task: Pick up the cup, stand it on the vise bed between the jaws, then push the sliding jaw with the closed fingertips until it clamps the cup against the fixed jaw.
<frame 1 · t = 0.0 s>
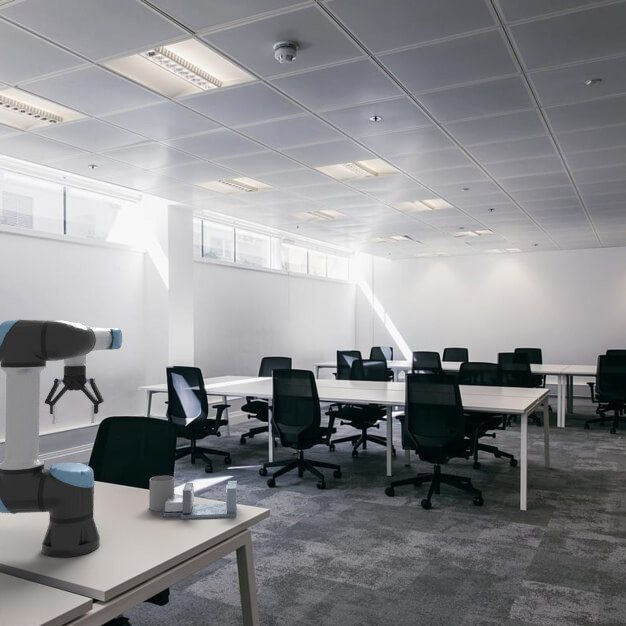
hand: (74, 423, 216), 28 cm above the table, fingers open, 13 cm apart
vise base: (209, 512, 200), on the table
cup: (161, 508, 206), on the table
jaw: (179, 497, 199), point 5 cm above the table, slide at 0.0 cm
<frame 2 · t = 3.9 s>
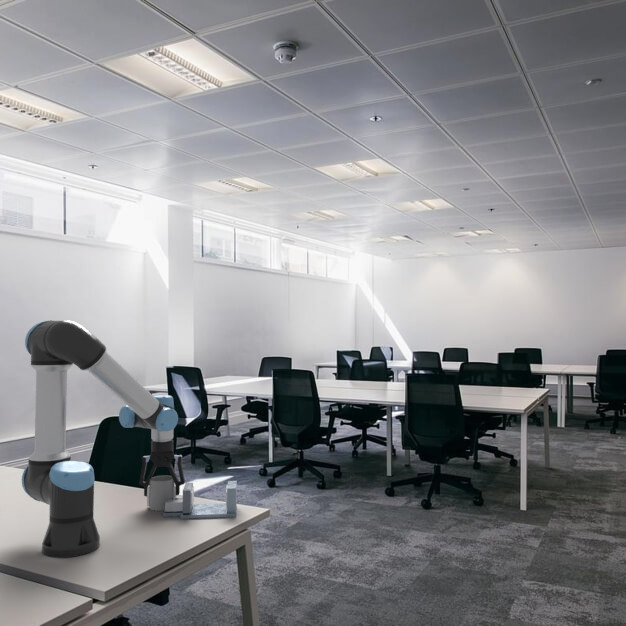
hand: (161, 504, 206), 1 cm above the table, fingers closed on cup, 8 cm apart
cup: (161, 507, 206), on the table, touching gripper
everything else where it was.
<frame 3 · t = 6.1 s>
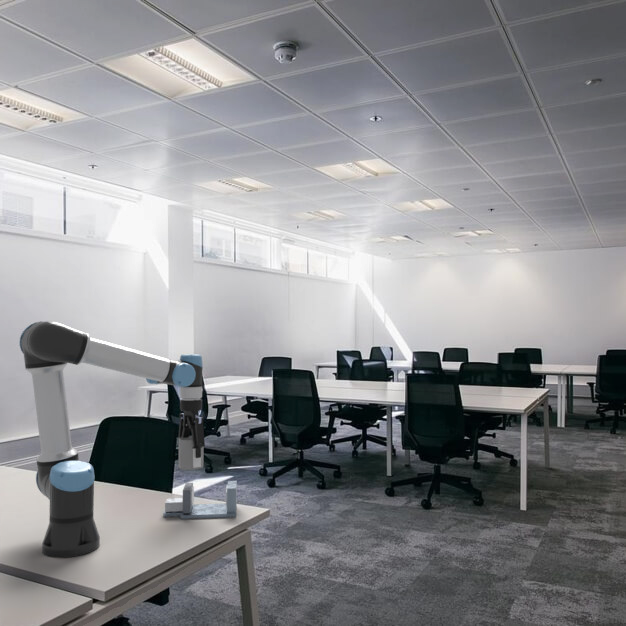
hand: (191, 464, 204), 16 cm above the table, fingers closed on cup, 8 cm apart
cup: (191, 467, 204), point 14 cm above the table, touching gripper
everything else where it was.
when the fingers open (3 cm above the table, at t = 8.5 s): cup drops 1 cm, resting on vise base.
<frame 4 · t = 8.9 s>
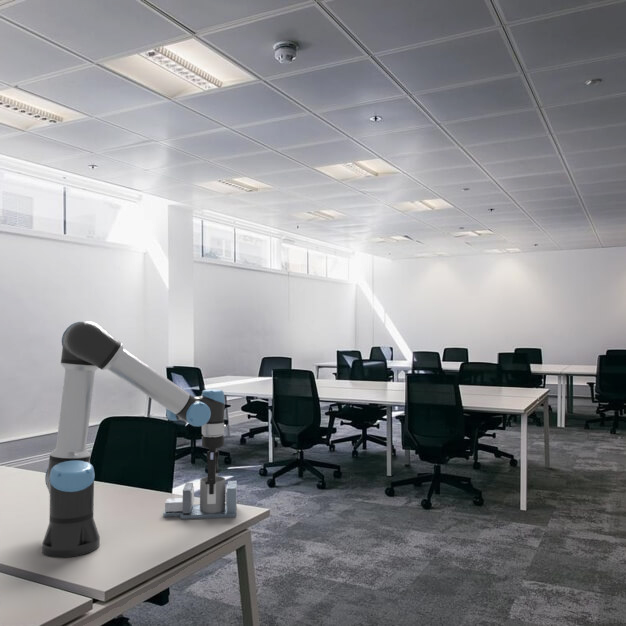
hand: (212, 498, 201), 5 cm above the table, fingers open, 13 cm apart
cup: (212, 509, 200), point 1 cm above the table, touching vise base
everything else where it was.
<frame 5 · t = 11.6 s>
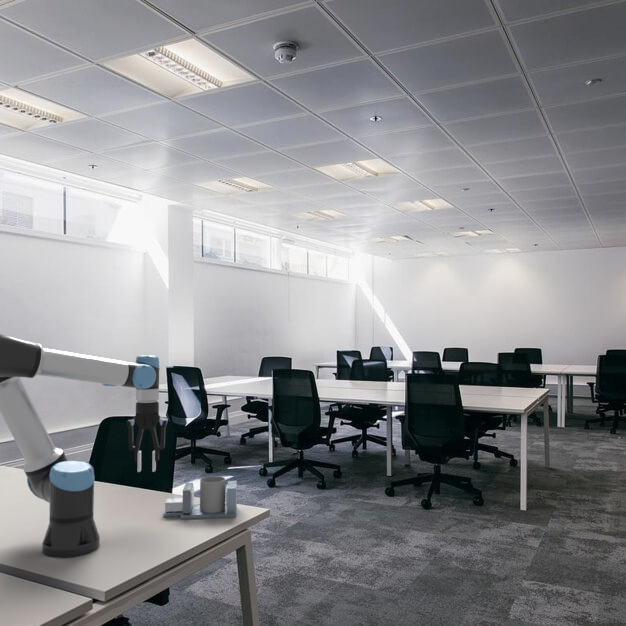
hand: (146, 470, 198), 15 cm above the table, fingers open, 4 cm apart
nothing on the table moved.
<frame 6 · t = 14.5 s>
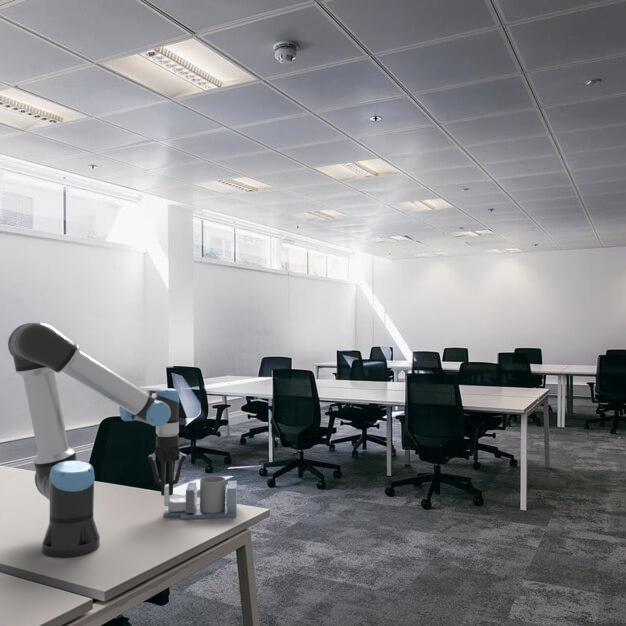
hand: (167, 504, 199), 3 cm above the table, fingers closed
jaw: (182, 497, 200), point 5 cm above the table, slide at 1.0 cm, touching gripper
everything else where it was.
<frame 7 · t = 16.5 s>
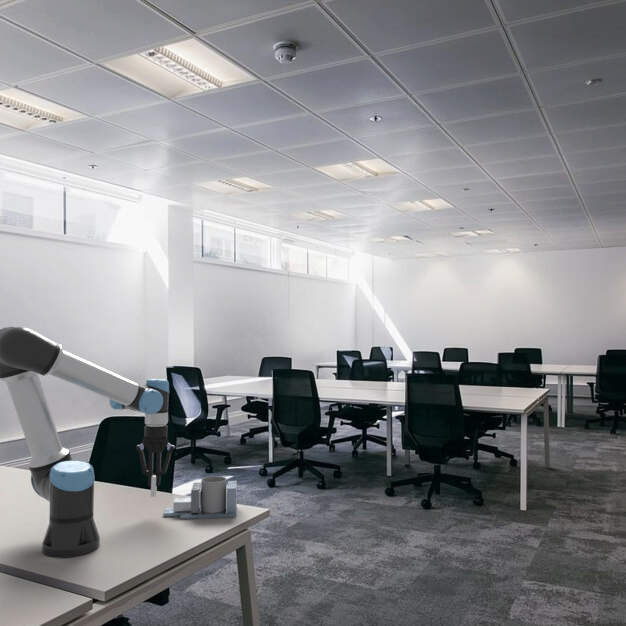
hand: (153, 495, 198), 6 cm above the table, fingers closed
jaw: (187, 497, 200), point 5 cm above the table, slide at 2.7 cm
everything else where it was.
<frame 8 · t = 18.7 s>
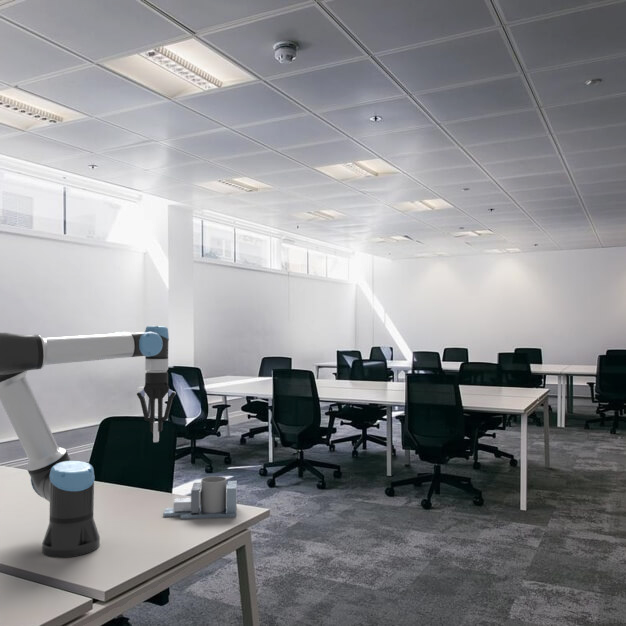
hand: (156, 441, 199), 24 cm above the table, fingers closed
nothing on the table moved.
at the end: jaw slide at 2.7 cm; cup 0.1 cm from the target spot, point 1.0 cm above the table; cup tilted 0° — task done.
